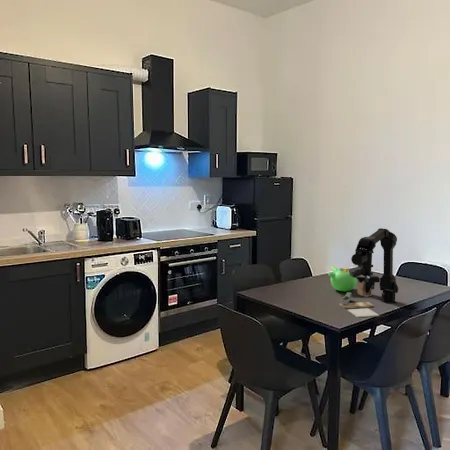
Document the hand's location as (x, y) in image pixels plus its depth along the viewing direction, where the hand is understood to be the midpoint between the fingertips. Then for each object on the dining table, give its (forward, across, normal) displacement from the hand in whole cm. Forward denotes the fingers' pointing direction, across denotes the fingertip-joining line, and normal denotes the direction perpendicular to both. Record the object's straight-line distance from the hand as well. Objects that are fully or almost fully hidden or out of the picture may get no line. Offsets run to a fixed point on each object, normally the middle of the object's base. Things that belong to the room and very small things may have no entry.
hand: (364, 291), depth 226 cm
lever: (+10, -17, 0) cm, 20 cm away
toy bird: (+12, -43, +9) cm, 46 cm away
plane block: (+12, -12, +2) cm, 17 cm away
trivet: (+12, 0, 0) cm, 12 cm away
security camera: (+12, -31, +19) cm, 38 cm away
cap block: (+1, 0, 0) cm, 1 cm away
